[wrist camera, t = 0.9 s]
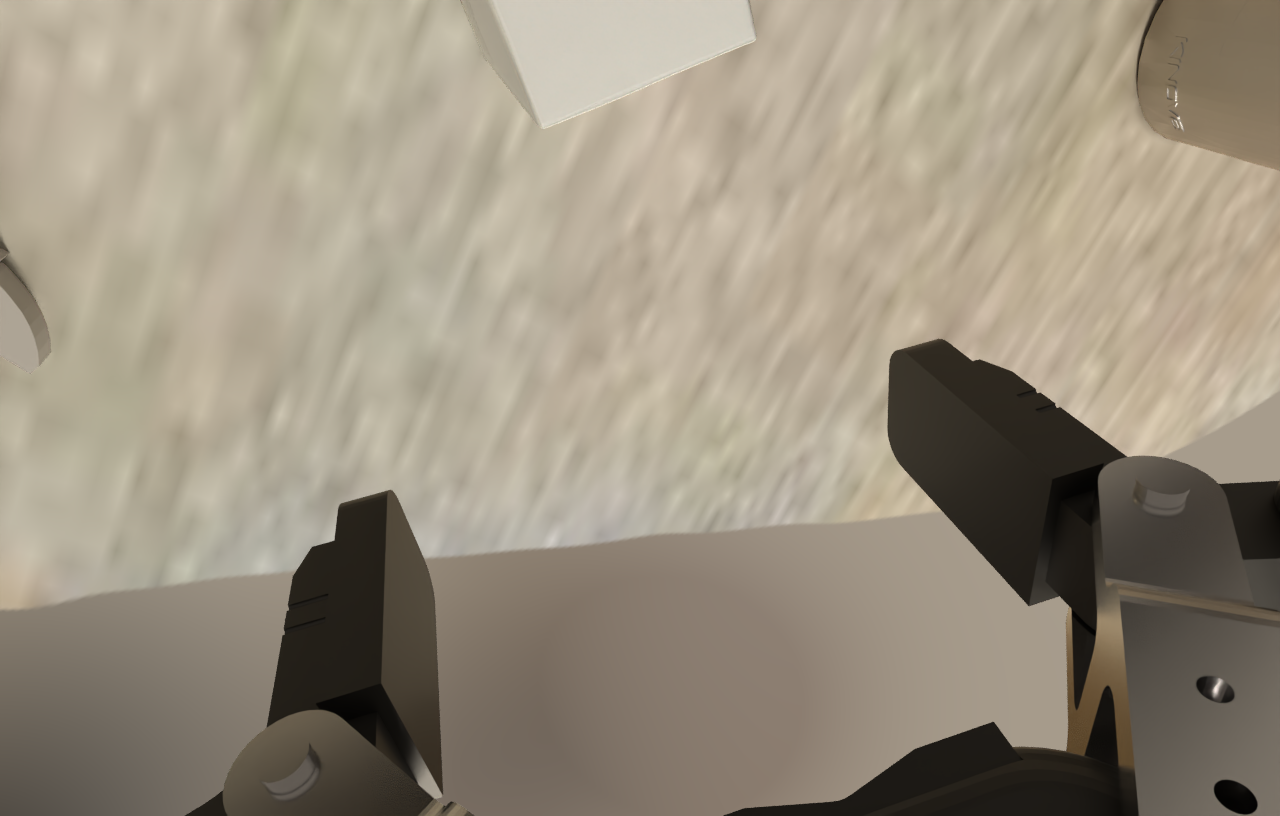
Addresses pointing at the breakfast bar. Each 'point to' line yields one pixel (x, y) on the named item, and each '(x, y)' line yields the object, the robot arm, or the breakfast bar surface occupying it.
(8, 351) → the adjustable wrench
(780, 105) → the breakfast bar surface
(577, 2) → the skincare box
